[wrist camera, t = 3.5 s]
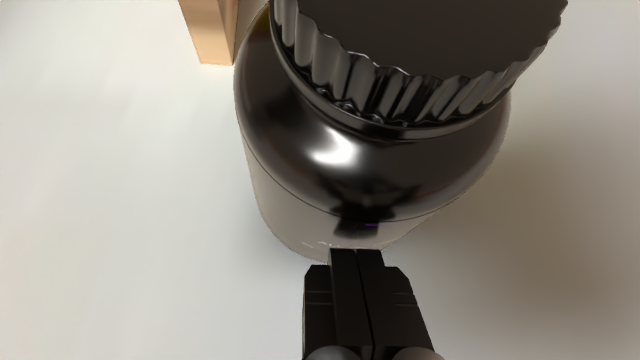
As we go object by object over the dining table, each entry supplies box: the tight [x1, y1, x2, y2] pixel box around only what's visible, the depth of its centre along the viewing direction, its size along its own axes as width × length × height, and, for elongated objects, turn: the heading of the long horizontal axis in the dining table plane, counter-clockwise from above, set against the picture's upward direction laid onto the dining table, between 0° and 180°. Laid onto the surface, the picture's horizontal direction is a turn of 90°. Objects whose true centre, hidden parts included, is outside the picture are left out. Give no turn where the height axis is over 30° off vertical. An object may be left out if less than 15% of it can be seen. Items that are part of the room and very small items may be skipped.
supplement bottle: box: [233, 0, 568, 262], centre depth 12 cm, size 7×7×12 cm
